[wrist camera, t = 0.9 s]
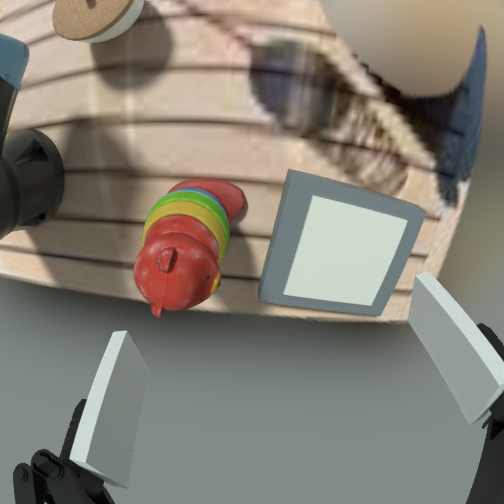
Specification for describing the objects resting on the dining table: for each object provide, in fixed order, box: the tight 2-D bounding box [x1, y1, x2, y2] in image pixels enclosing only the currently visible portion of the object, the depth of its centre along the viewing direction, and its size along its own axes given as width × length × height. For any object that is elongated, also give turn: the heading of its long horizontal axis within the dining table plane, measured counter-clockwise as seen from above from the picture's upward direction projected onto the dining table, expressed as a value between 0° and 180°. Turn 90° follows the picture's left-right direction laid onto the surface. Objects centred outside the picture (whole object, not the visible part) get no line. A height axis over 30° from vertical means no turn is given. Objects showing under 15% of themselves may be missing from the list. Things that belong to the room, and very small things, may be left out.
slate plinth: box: [258, 169, 427, 316], centre depth 38 cm, size 20×18×3 cm
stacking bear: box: [134, 178, 246, 318], centre depth 29 cm, size 11×10×18 cm
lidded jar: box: [53, 0, 144, 43], centre depth 20 cm, size 11×11×9 cm
